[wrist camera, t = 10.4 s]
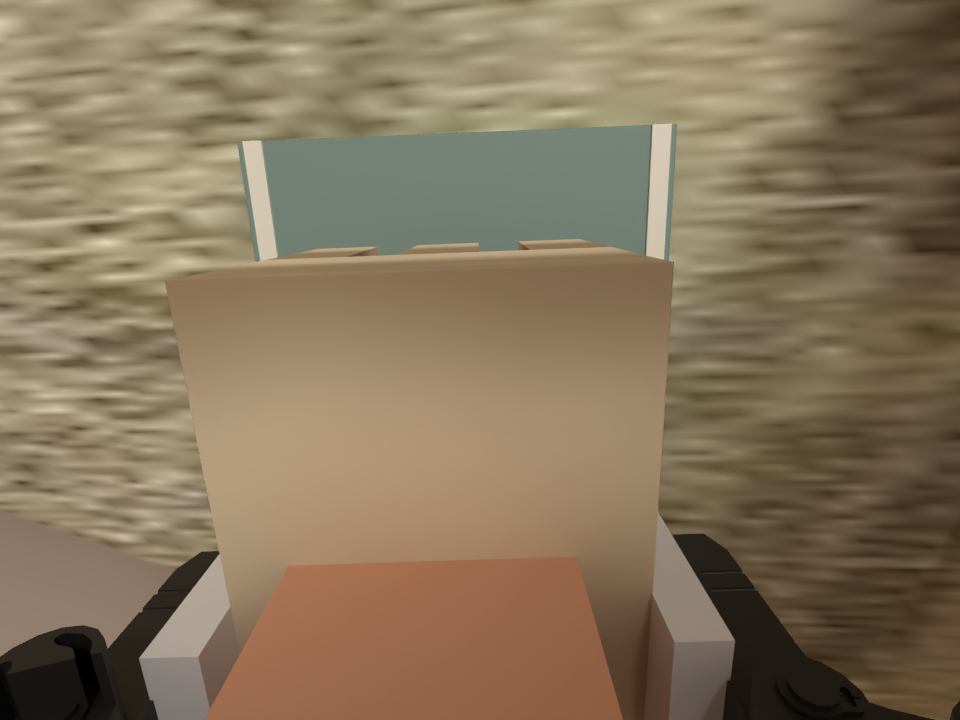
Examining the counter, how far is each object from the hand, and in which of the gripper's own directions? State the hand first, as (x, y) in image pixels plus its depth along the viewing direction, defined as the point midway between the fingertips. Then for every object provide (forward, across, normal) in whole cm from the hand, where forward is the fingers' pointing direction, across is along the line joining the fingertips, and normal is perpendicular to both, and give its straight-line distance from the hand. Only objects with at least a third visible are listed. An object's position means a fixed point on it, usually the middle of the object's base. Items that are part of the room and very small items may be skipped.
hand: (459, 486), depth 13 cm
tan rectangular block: (0, 0, 0) cm, 0 cm away
